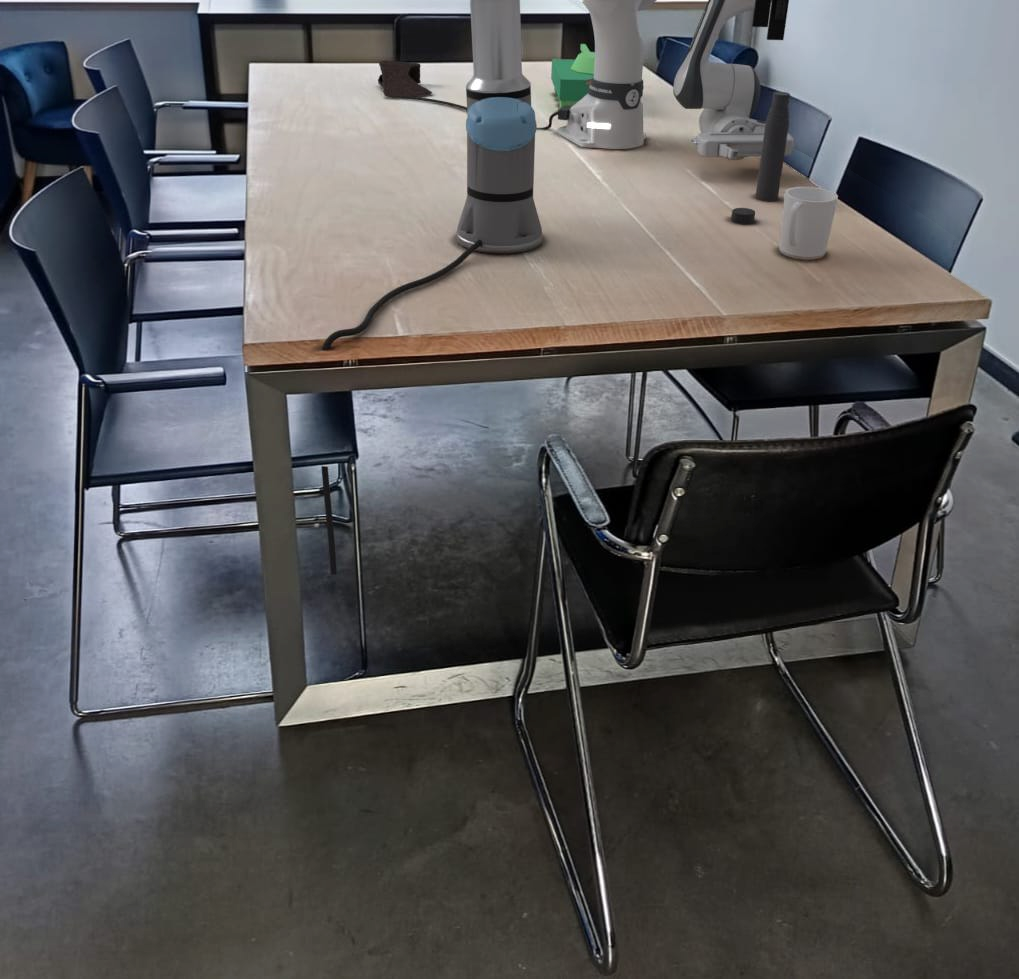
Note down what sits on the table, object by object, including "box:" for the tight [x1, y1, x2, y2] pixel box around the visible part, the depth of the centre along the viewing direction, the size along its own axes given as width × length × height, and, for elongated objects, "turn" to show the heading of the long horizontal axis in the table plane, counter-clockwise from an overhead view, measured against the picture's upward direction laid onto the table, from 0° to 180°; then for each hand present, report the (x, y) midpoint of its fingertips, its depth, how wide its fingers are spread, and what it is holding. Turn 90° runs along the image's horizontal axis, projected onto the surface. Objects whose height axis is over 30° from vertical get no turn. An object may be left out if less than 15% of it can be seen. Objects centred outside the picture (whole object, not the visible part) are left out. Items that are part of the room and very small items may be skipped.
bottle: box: [754, 91, 791, 202], centre depth 216 cm, size 4×4×20 cm
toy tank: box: [550, 43, 595, 109], centre depth 292 cm, size 18×12×35 cm
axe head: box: [377, 59, 433, 99], centre depth 299 cm, size 18×8×15 cm
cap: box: [730, 207, 756, 225], centre depth 208 cm, size 4×4×2 cm
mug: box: [778, 186, 839, 261], centre depth 190 cm, size 11×9×10 cm
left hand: (767, 33), depth 191 cm, fingers open, 13 cm apart
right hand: (756, 154), depth 225 cm, fingers open, 8 cm apart
